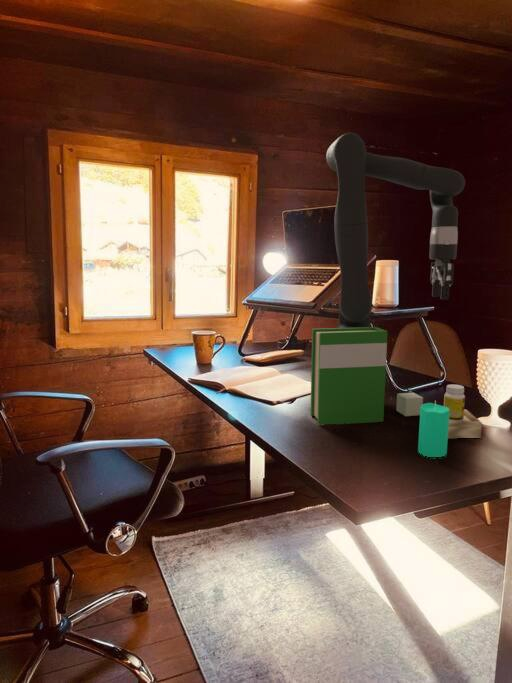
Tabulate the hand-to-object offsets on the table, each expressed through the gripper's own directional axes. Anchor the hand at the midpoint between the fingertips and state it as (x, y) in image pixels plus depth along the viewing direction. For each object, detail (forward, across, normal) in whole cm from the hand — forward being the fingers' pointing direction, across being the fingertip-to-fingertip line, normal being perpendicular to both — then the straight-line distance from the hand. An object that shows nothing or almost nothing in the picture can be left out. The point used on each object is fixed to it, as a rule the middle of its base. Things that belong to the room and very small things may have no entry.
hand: (440, 298), depth 147 cm
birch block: (+30, +32, -5) cm, 44 cm away
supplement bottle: (+27, +32, -5) cm, 42 cm away
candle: (+30, +46, -14) cm, 57 cm away
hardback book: (+30, +24, -30) cm, 49 cm away
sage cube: (+30, +18, -12) cm, 37 cm away
